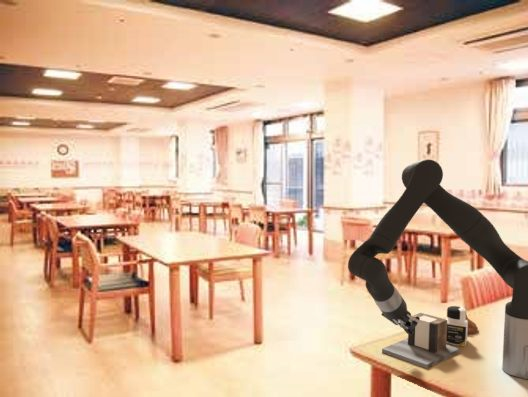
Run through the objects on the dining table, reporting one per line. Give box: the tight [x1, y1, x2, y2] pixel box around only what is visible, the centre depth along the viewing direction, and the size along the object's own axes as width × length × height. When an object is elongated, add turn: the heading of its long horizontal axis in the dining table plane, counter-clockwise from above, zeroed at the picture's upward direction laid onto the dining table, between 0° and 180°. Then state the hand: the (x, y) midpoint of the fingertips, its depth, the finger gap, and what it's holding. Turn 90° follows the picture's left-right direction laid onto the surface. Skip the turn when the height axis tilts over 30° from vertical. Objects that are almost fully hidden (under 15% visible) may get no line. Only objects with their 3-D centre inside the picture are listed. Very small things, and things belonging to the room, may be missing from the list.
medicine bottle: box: [445, 305, 468, 347], centre depth 164 cm, size 7×7×12 cm
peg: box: [415, 316, 437, 350], centre depth 156 cm, size 5×5×9 cm
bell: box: [466, 314, 479, 335], centre depth 177 cm, size 12×12×7 cm
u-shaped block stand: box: [381, 312, 460, 369], centre depth 154 cm, size 20×16×10 cm
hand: (410, 331), depth 149 cm, fingers closed
